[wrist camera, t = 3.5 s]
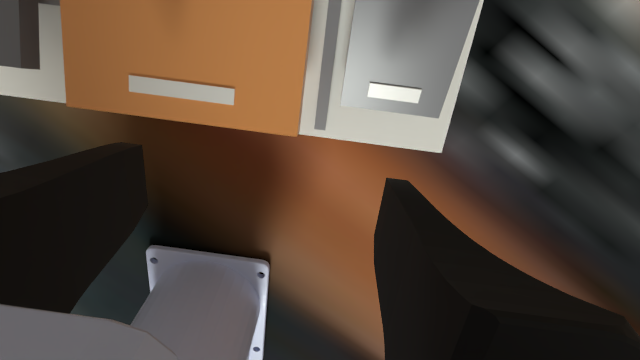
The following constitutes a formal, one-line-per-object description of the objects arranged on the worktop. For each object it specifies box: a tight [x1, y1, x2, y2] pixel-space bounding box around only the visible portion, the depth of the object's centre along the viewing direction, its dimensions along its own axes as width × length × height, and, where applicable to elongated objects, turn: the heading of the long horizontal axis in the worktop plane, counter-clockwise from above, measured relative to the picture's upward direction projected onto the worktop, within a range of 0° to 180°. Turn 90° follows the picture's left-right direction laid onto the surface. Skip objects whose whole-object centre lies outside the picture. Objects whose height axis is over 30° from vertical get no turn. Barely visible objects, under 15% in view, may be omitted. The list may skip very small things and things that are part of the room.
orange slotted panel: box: [60, 0, 314, 137], centre depth 15 cm, size 8×9×1 cm
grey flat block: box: [340, 0, 480, 118], centre depth 15 cm, size 6×4×1 cm
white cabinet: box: [0, 0, 484, 153], centre depth 18 cm, size 10×22×4 cm, turn 84°
